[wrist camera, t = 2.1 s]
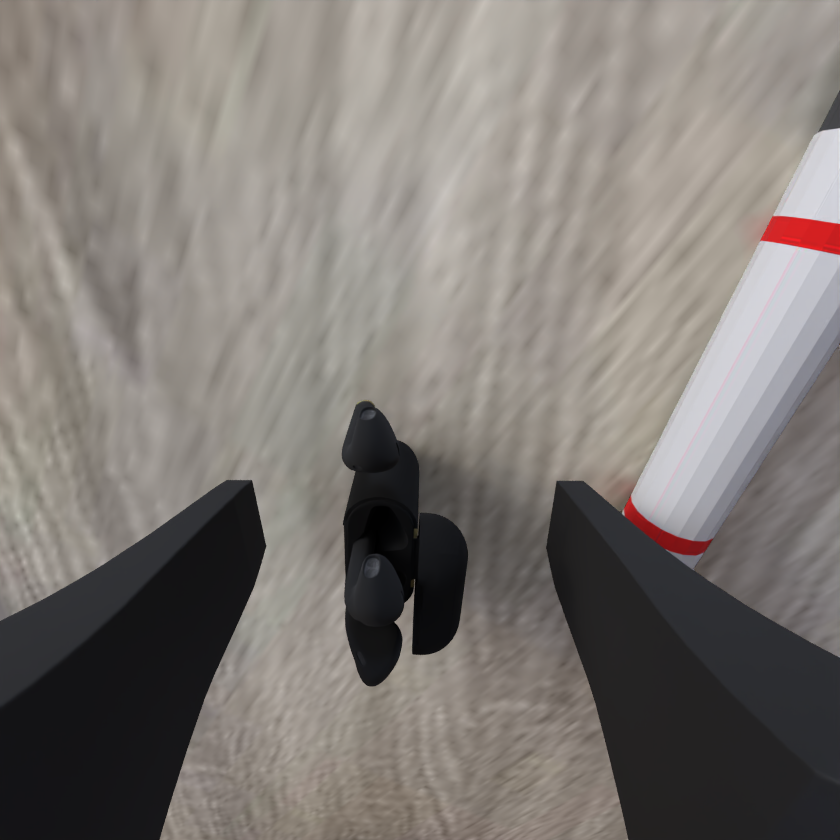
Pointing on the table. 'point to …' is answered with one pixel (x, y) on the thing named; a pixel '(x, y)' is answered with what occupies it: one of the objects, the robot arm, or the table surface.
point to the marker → (751, 363)
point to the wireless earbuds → (394, 552)
